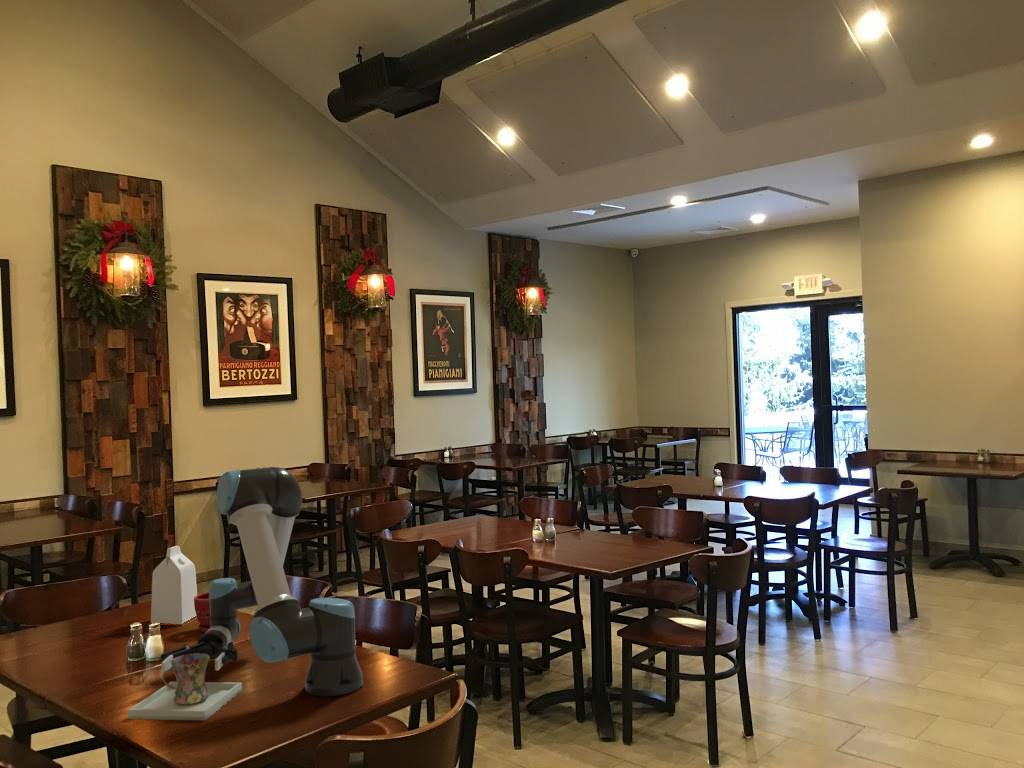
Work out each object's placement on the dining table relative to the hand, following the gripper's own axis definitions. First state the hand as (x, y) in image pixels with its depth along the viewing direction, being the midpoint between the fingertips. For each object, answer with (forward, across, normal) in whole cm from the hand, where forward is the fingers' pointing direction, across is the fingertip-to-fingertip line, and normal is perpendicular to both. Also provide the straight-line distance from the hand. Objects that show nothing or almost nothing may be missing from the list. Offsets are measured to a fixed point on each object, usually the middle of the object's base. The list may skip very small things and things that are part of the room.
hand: (189, 666), depth 218 cm
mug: (+4, 0, -8) cm, 9 cm away
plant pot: (-67, +13, -9) cm, 69 cm away
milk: (-80, +31, -9) cm, 87 cm away
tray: (+4, 0, -8) cm, 9 cm away
